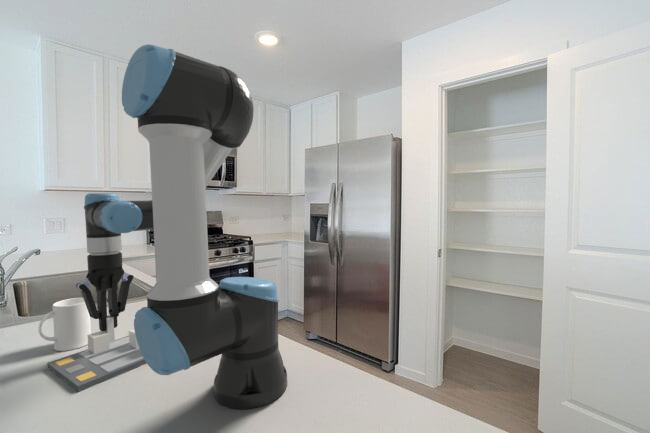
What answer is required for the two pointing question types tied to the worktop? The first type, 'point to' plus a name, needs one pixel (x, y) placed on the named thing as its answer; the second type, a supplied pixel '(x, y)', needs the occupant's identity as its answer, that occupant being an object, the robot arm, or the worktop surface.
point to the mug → (69, 324)
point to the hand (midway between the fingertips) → (109, 341)
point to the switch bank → (97, 364)
